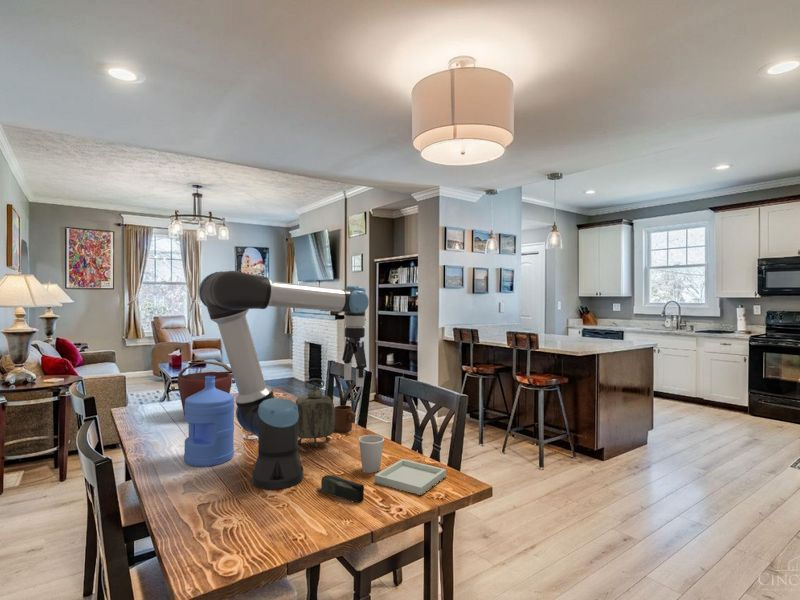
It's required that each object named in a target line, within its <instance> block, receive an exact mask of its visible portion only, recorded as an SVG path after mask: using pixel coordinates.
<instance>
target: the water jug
mask: <svg viewBox="0 0 800 600" xmlns="http://www.w3.org/2000/svg"><path fill="white" fill-rule="evenodd" d="M205 379H206V381H205V388H204V389H203V390H201V391H199V392H197V393H195V394H193V395H191V396H189V397H188V398H186V400H185V406H184V412H185V416H184V421H185V422H187V424H188V437H186V438H185V439H184V452H183V453H184V454H183V461H184V463H185V464H186V465H189V466H192V467H210V466H211V467H212V466H217V465H220V464H224V463H226V462H228V461H230V460H231V459H232V458H233V457H234V454H235V448H234V442H235V441H234V440H235V439H234V438H235V437H234V436H235V435H234V434H235V423H234V421H235V419H234V417H235V416H234V415H235V410H234V409H235V397H234V395H233V394H231V393H230V394H229V393H227V392H224V391H221V390H219V389H216V388H215V376H206V377H205ZM184 412H183V413H184Z"/></svg>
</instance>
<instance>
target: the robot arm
mask: <svg viewBox="0 0 800 600" xmlns="http://www.w3.org/2000/svg"><path fill="white" fill-rule="evenodd" d="M198 297H199V299H200V302H201V303H202V304H203V305H204V306H205V307H206V310H207V312H208V314H209V315H208V316H209V319H210V321H212V322H214V323H216V324H217V327H218V330H219V333H220V337H221V340H222V343H223V347H224V349H225V352H226V356H227V359H228V363H229V366H230V368H231V370H232V372H231V374H233V379H234V383H235V387H236V389H237V393H238V394H237V396H236V398H235V404H236V406H237V407H236V411H235V416H236V419H237V423H238V425H240V426H241V428H243V429H244V430H245V431H246V432H249V433H251V434H253V436H255V437H258V442H257V443H258V445H257V447H258V448H257V449H258V450H257V458H256V461H255V465H254V469H252V472H251V483H252V485H253V486H254V487H256V488H259V489H265V490H279V489H280V490H282V489H286V488H290V487H294V486H296V485H298V484H299V483H300V482H302V481H303V479H304V468H303V465H302V462H301V461H302V460H301V458H300V455H299V444H298V440H299V437H298V419H299V413H298V407H297V405H296V403H295V402H296V401H295V402H294V401H293V400H291V399H287V398H282V397H275V395H274V392H273V389H272V387H271V386H269V385H266V381H265V379H264V374H263V371H262V367H261V364H260V361H259V358H258V354H257V350H256V348H255V344H254V340H253V336H252V333H251V331H250V330H251V329H250V326H249V323H248V320H247V316H246V315H247V314H248V312H249V310H252V309H253V310H254V309H255V310H266V309H268V308H269V307H275V308H288V309H289V308H290V309H304V310H314V311H315V310H317V311H320V312H337V313H338V312H339V313H344V326H345V328H344V338H345V343H344V344H345V345H344V349H343V354H342V359H341V360H342V361H343V363H344V364H343V366H344V367H343V370H344V371H343V380H344V381H352V363H353V357H354V359H355V363H356V367H355V388H358V387H362V388H363V387H364V386H365V385H364V381H365V375H364V374H365V369H366V368H367V360H366V352H365V341H363V340H361V339H362V338H365V335H366V334H365V332H366V330H365V325H366V320H367V319H366V310H367V309H368V307H369V302H370V301H369V300H370V299H369V296H368V295H367V293H366V288H365V286H360V285H355V286H354V285H348V286H346V287H345V289H341V288H333V287H325V286H318V285H317V286H315V285H310V284H309V285H308V284H299V283H290V282H283V281H282V282H281V281H273V280H272V279H270V278H269V277H268V276H261V275H255V274H250V273H247V272H242V271H237V270H228V271H224V270H223V271H222V270H221V271H215V272H212V273H210V274H208V275H207V276H205V277H204V278H203V279H202V280H201V282H200V284H199V286H198Z"/></svg>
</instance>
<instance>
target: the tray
mask: <svg viewBox="0 0 800 600" xmlns="http://www.w3.org/2000/svg"><path fill="white" fill-rule="evenodd" d="M445 477H446V478H447V469H446V468H443V467H437V466H434V465H430V464H426V463H421V462H417V461H413V460H409V459H405V458H401V459H400V460H398V461H396V462H395V463H393V464H391V465H389V466H388V467H385V468H384V469H382V470H381V471H378V472H376V473H375V474H374V484H376V483H377V485H380V484H381V485H380V486H383V485H385V486H384V487H387V486H389V487H388V488H390V487H393V488H392V489H394V488H396V489H395V490H397V489H401V490H404V491H408V492H412V493H416V494H420V495H422V494H423V493H424V492H426V491H427V490H428V489H430V488H431V487H432V486H434V485H435V484H436V483H437V482H439V481H440V480H442V479H443V478H444V479H446V478H445ZM444 479H443V480H444ZM443 480H442V481H443ZM440 482H441V481H440ZM440 482H439V483H440ZM436 485H437V484H436ZM436 485H435V486H436ZM435 486H434V487H435ZM431 489H432V488H431ZM431 489H430V490H431ZM401 490H400V491H401ZM404 491H403V492H404ZM408 492H407V493H408ZM427 492H428V491H427ZM427 492H426V493H427ZM423 495H424V494H423ZM423 495H422V496H423Z"/></svg>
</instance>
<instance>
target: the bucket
mask: <svg viewBox="0 0 800 600" xmlns="http://www.w3.org/2000/svg"><path fill="white" fill-rule="evenodd" d="M201 364H206V365H207V364H208V365H215V366H219V367H222V368H223V369H224V370H226V371H228V372H224V371H223V372H222V371H221V372H219V371H204V372H196V373H194V372H193V373H192V372H191V373H186V374H185V375H184V373H185V372H186V371H187V370H188V369H190V368H192V367H194V366H197V365H201ZM206 376H215V388H216V389H219V390H221V391H224V392H227V393H229V394H231V387H232V383H233V382H232V381H233V380H232V379H233V378H234V376H233V373H232V370H231V366H230V367H229V366H228V365H227V364H225V363H221V362H216V361H200V362H196V363H193V364H190V365H188V366H186V367H185V368H182V370H180V372H179V373H178V376H177V388H178V392H179V396H180V401H181V407H182V411H183V415H184V417H185V412H184V406H185V400H186V398H188V397H189V396H191V395H193V394H195V393H197V392H199V391H201V390H203V389H204V388H205V381H206V379H205V377H206Z"/></svg>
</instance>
